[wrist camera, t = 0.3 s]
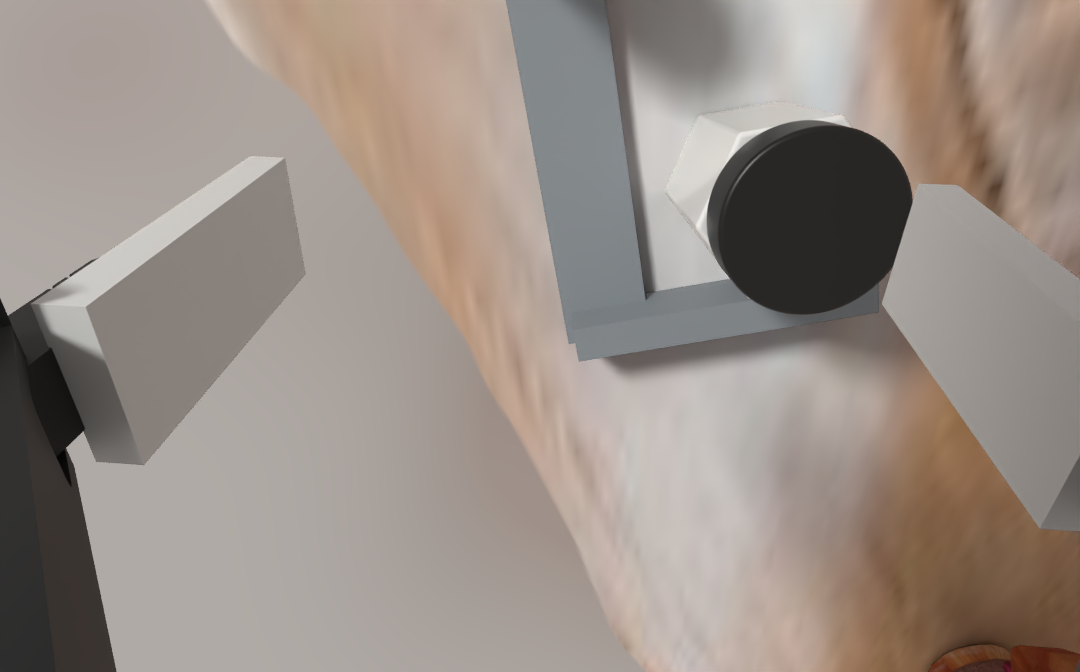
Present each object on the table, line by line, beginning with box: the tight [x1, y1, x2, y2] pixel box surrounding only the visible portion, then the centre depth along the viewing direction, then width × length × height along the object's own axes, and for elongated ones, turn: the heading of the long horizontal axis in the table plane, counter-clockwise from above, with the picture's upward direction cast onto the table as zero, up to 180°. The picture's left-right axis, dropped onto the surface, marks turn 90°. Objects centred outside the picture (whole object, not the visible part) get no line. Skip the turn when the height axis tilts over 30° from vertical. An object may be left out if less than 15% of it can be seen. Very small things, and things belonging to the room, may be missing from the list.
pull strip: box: [506, 0, 879, 361], centre depth 33 cm, size 26×18×12 cm
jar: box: [665, 101, 913, 315], centre depth 35 cm, size 9×8×12 cm
